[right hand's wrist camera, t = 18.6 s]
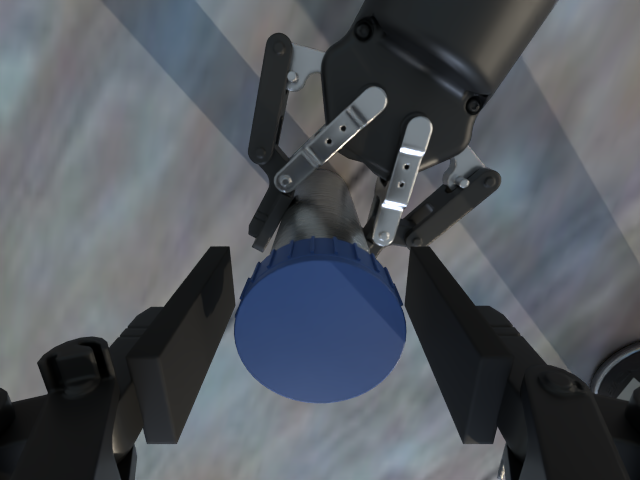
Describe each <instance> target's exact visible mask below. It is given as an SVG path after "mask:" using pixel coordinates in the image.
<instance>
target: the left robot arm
mask: <svg viewBox="0 0 640 480" xmlns="http://www.w3.org/2000/svg"><path fill="white" fill-rule="evenodd" d="M557 2H558V0H365V2H364V3H363V5H362V7H361V9H360V11H359V13H358V15H357V17H356V19H355V21H354V22H353V24H352V26H351V28H350V30H349V31H348V33H347V34H346V35H345V36H344V37H343V38H342V39H341V40H340V41H338V42H337V43H335V44H333V45H332V46H331V47H330V48H329V49H328V50H327V51H326V52H324V51H320V50H317V49H313V48H309V47H306V46H302V45H299V44H295V43H292V42H291V41H290V39H289V38H288V37H287V36H286V35H285V34H282V33H275V34H273V35H271V36H270V37H269V38H268V40H267V43H266V48H265V54H264V60H263V66H262V71H261V77H260V83H259V89H258V95H257V101H256V107H255V113H254V119H253V124H252V130H251V136H250V142H249V148H248V154H249V157H250V159H251V160H252V161H253V162H254V163H256V164H258V165H259V166H260V167H261V168H262V169H263V170H264V171H265V172H266V174H267V175H268V177H269V181H270V184H269V188H268V190H267V192H266V194H265V196H264V198H263V200H262V202H261V204H260V206H259V208H258V209H257V211H256V213H255V215H254V217H253V219H252V221H251V223H250V225H249V235H251V236H253V237H255V238H256V239H255V241H254V244H253V246H252V247H253V248H255V249H257V250H259V251H261V252H263V251H264V250H265V248H266V246H267V244H268V243H269V241H270V239H271V237H272V236H273V234H274V232H275V230H276V228H277V227H278V225H279V223H280V221H281V219H282V218H283V215H284V214H285V212H286V211H287V209H288V207H289V205H290V203H291V202H292V200H293V197H294V193H295V190H294V189H295V188H296V187H297V186H298V185H299V184H300V183H302V182H303V181H304V180H305V179H306V178H307V177H308V176H309V175H310V174H311V173H312V172H314V171H315V170H316V169H317V168H318V167H320V166H322V165H323V164H324V163H325V162H326V161H327V160H328V159H330V158H331V157H332V156H333V155H334V154H335V153H336V152H338V153H340V154H342V155H344V156H345V157H347V158H349V159H352V160H356V161H360V162H363V163H365V164H366V165H367V166H368V168H369V169H370V170H371V171H372V172H373V173H374V174H376V175H377V176H378V177H377V181H376V185H375V194H374V198H373V202H372V206H371V209H370V213H369V217H368V221H367V224H366V225H365V227H364V228H362V227H361V228H362V230H363V233H364V236H365V239H366V242H367V245H368V248H369V251H370V254H371V253H373V254H374V255H375V258H376V257H377V256H378V254H379V253H380V252H381V250H382V249H383V248H385V247H387V246H389V245H397V246H404V247H407V248H408V249H409V250H410V247H427V246H428V245H429V244H431V243H432V242H433V241H434V240H435V239H437V238H438V237H439V236H440V235H442V234H443V233H444V232H445V231H447V230H448V229H449V228H450V227H451V226H453V225H454V224H455V223H456V222H458V221H459V220H460V219H461V218H462V217H464V216H465V215H466V214H467V213H469V212H470V211H471V210H472V209H473V208H475V207H476V206H477V205H478V204H480V203H481V202H482V201H483V200H485V199H486V198H487V197H488V196H489V195H491V194H492V193H493V192H494V191H496V190H497V189H498V187H499V186H500V184H501V176H500V174H499V173H498V172H496V171H494V170H491V169H490V168H487V167H486V166H485V165H484V164H483V163H482V162H481V160H480V159H479V158H478V157H477V155H476V154H475V153H474V151H473V150H472V149H471V148H470V146H469V145H468V144H469V142H470V140H471V136H472V129H473V125H474V122H475V119H476V117H477V115H478V114H479V112H480V111H481V109H482V108H483V107H484V106H485V105H486V103H487V102H488V101H489V99H490V98H491V97H492V95H493V94H494V93H495V91H496V90H497V88H498V87H499V85H500V84H501V82H502V81H503V80H504V78H505V77H506V75H507V74H508V72H509V71H510V70H511V68H512V67H513V65H514V64H515V62H516V61H517V59H518V58H519V57H520V55H521V54H522V52H523V51H524V49H525V48H526V47H527V45H528V44H529V42H530V41H531V39H532V38H533V36H534V35H535V33H536V32H537V31H538V29H539V28H540V26H541V25H542V23H543V22H544V21H545V19H546V18H547V16H548V15H549V13H550V12H551V11H552V9H553V8H554V6H555V5H556V3H557ZM316 73H318V74H321V81H322V91H323V102H324V112H325V124H324V125H323V126H322V127H321V128H320V129H319V130H318V131H317V132H316V133H315V134H314V135H313V136H312V137H311V138H310V139H309V140H308V141H307V142H306V143H305V144H304V145H303V146H302V147H301V148H300V149H299V150H298V151H296V152H295V153H294V154H293V155H292V156H291V157H290V158H288V157H287V156H286V155H285V153H284V152H283V151H282V150H281V149H280V148H279V146H278V144H279V139H280V134H281V129H282V124H283V119H284V114H285V109H286V104H287V99H288V94H289V91H292V92H297V91H299V90H301V89H302V88H303V87H304V85H305V83H306V80H307V79H308V77H309V76H311V75H312V74H316ZM448 159H450V166H449V168H448V169H447V170H446V172H445V173H444V175H443V183H444V184H443V185H442V186H441V187H439V188H438V189H437V190H436V191H435V192H434V193H432V194H431V195H430V196H429V197H428V198H427V199H426V200H424V201H423V202H422V203H421V204H420V205H419V206H417V207H416V208H415V209H414V210H413V211H412V212H410V213H409V214H408V215H407V216H406V217H405V218H403V219H400V218H401V215H402V212H403V210H404V209H405V208H406V206H407V204H408V202H409V199H410V195H411V192H412V189H413V186H414V183H415V179H416V176H417V173H418V172H420V171H423V170H425V169H427V168H430V167H432V166H434V165H437V164H439V163H441V162H444V161H446V160H448ZM401 182H402V184H401V185H400V183H401ZM638 387H640V342H637V343H634V344H632V345H629V346H627V347H625V348H623V349H621V350H619V351H618V352H616V353H615V354H613V355H612V356H611V357H609V358H608V359H607V360H606V361H605V362H604V363H603V364H602V365H601V366H600V367H599V369H598V370H597V372H596V373H595V375H594V377H593V379H592V382H591V386H590V390H591V392H592V393H595V394H600V395H604V396H609V397H613V398H618V399H622V400H627V401H629V400H630V398H631V395H632V393H633V391H634V390H635V389H636V388H638Z"/></svg>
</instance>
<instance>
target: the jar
mask: <svg viewBox="0 0 640 480" xmlns="http://www.w3.org/2000/svg"><path fill="white" fill-rule="evenodd" d="M294 190H295V193H294V197H293V200H292V202H291V203H290V205H289V207H288V209H287V211H286V212H285V214H284V215H283V218H282V220H281V223H280V226H279V229H278V232H277V235H276V238H275V241H274V244H273V247H272V249H271V251H272V250H273V249H275V250H277V249H279V248H281V247H283V246H285V245H287V244H289V243H290V241H291V240H294V242H295V241H299V240H303V239H309V238H311V236H315V238H331V239H333V237H336V238H337V240H342V241H346V242H348V243H351V244H353V243H354V242H355V243H357V246H358V247H360V248H362V249H363V250H365V251H366V252H368V253H369V254H370V251H369V248H368V245H367V242H366V239H365V236H364V233H363V230H362V228H361V225H360V222H359V219H358V216H357V213H356V210H355V207H354V204H353V201H352V198H351V195H350V192H349V189H348V186H347V185H346V183H345V181H344V180H343V179H342V178H341V177H340V176H339V175H337V174H336V173H334V172H332V171H329V170H324V169H316V170H315V171H314V172H312V173H311V174H310V175H309V176H308V177H307V178H306V179H305V180H304V181H303V182H302V183H300V184H299V185H298V186H297V187H296V188H295V189H294ZM270 254H271V252H270Z"/></svg>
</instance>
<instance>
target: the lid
mask: <svg viewBox="0 0 640 480" xmlns="http://www.w3.org/2000/svg"><path fill="white" fill-rule="evenodd" d="M240 299H241V302H240V304H239V307H238V309H237V312H236V314H235V318H236V319H235V324H234V337H235V344H236V347H237V351H238V354H239V356H240V358H241V360H242V362H243V364H244V365H245V367H246V368H247V370H248V371H249V372H250V373H251V374H252V376H253V377H254V378H255V379H256V380H258V381H259V382H260V383H261V384H262V385H264V386H265V387H267V388H268V389H270V390H271V391H273V392H275V393H277V394H279V395H282V396H284V397H286V398H290V399H293V400H296V401H302V402H308V403H332V402H339V401H344V400H348V399H351V398H354V397H357V396H359V395H361V394H363V393H366V392H367V391H369V390H371V389H372V388H374V387H375V386H377V385H378V384H379V383H381V382H382V381H383V380H384V379H385V378H386V377H387V376H388V375H389V374H390V373H391V371H392V370H393V369H394V368H395V366H396V364H397V363H398V361H399V359H400V357H401V355H402V352H403V349H404V345H405V341H406V321H405V317H404V313H403V310H402V308H401V306H403V303H402V300H401V298H400V296H399V293H398V291H397V288H396V286H395V284H393V282H392V279H391V277H390V274H389V272H388V270H387V268H386V267H385V268H383V267H382V265H381V264H380V263H379V262H378V261H377V260H376V258H375V255H374V254H373V253H371V254H369V253H368V252H366V251H365V250H363V249H362V248H360V247H358V246H357V243H355V242H354V243H353V244H351V243H348V242H346V241H342V240H337V238H336V237H333V239H331V238H315V236H311V238H309V239H303V240H299V241H295V242H294V240H291V241H290V243H289V244H287V245H285V246H283V247H281V248H279V249H277V250H275V249H273V250H272V251H271V254H270V255H269V256H267V257H266V258H265V259H264V260H263V261H262V262H261V263H260V262H258V263H257V265H256V268H255V270H254V273H253V275H252V277H251V278H248V279H247V282H246V284H245V287H244V289H243V291H242V294H241V296H240Z"/></svg>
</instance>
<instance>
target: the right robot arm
mask: <svg viewBox="0 0 640 480" xmlns="http://www.w3.org/2000/svg"><path fill="white" fill-rule="evenodd" d="M234 308H235V296H234V286H233V276H232V266H231V257H230V247H210V248H209V249H208V251H207V252H206V253H205V254H204V256H203V257H202V258H201V260H200V261H199V262H198V263H197V265H196V266H195V267H194V269H193V270H192V271H191V272H190V274H189V275H188V276H187V278H186V279H185V280H184V281H183V283H182V284H181V285H180V287H179V288H178V289H177V291H176V292H175V293H174V294H173V296H172V297H171V298H170V300H169V301H168V302H167V303H166V305H165V306H164V307H150V308H149V309H147V310H145V311H144V312H142V313H141V314H139V315H138V316H136V317H135V319H134V320H133V321H132V322H131V323H130V324H129V326H128V328H126V329H125V330H124V331H123V332H122V334H121V335H120V337H118V338H117V339H116V340H115V342H114V343H113V344H112V345H111V346H110V347H108V343H107V341H105V340H104V339H102V338H99V337H83V338H78V339H74V340H71V341H67V342H65V343H63V344H61V345H59V346H56V347H54V348H53V349H51V350H50V351H49V352H47V353H46V354H44V355H43V356H42V358H41V359H40V360H39V361H38V362H37V364H38V367H39V369H40V372H41V375H42V378H43V380H44V383H45V386H46V389H47V391H48V394H47V395H43V396H38V397H34V398H29V399H25V400H20V401H16V402H11V400H10V398H9V395H8V393H7V391H5V390H3V389H2V388H0V480H135V471H136V462H137V454H136V448H135V444H134V443H135V441H136V439H137V437H138V435H139V434H140V432H141V430H142V428H143V430H144V434H145V438H146V442H147V444H177V442H178V440H179V437H180V435H181V433H182V430H183V428H184V426H185V423H186V421H187V419H188V416H189V414H190V411H191V409H192V407H193V404H194V402H195V400H196V397H197V395H198V393H199V390H200V388H201V385H202V383H203V381H204V378H205V376H206V374H207V371H208V369H209V367H210V364H211V362H212V360H213V357H214V355H215V352H216V350H217V348H218V345H219V343H220V341H221V338H222V336H223V334H224V331H225V329H226V326H227V324H228V322H229V319H230V317H231V315H232V312H233V310H234ZM405 308H406V310H407V312H408V315H409V317H410V319H411V322H412V324H413V326H414V329H415V331H416V334H417V336H418V338H419V341H420V343H421V345H422V348H423V350H424V352H425V355H426V357H427V360H428V362H429V364H430V367H431V369H432V371H433V374H434V376H435V378H436V381H437V383H438V386H439V388H440V390H441V393H442V395H443V397H444V400H445V402H446V404H447V407H448V409H449V411H450V414H451V416H452V419H453V421H454V423H455V426H456V428H457V430H458V433H459V435H460V437H461V440H462V442H463V444H493V442H494V438H495V434H496V430H497V426H498V428H499V430H500V432H501V434H502V435H503V437H504V439H505V441H506V444H505V448H504V452H503V456H502V459H501V463H500V467H499V471H498V477H497V478H498V479H501V480H502V479H503V475H504V472H505V479H506V480H640V387H638V388H636V389H635V390H634V391H633V393H632V395H631V398H630V400H629V401H627V400H622V399H618V398H613V397H609V396H604V395H600V394H595V393H592V392H591V390H590V389H589V387H588V386H587V385H586V384H585V383H584V382H583V381H582V380H580V379H579V378H578V377H577V376H575V375H573V374H571V373H569V372H568V371H566V370H564V369H561V368H557V367H554V366H551V365H547V364H546V363H545V362H544V361H543V359H542V358H541V357H540V356H539V355H538V354H537V353H536V351H535V350H534V349H533V348H532V347H531V346H530V345H529V343H528V342H527V341H526V340H525V339H524V338H523V337H522V336H520V333H519V332H518V331H517V330H516V329H515V327H513V325H512V324H511V323H510V322H509V321H508V319H507V318H506V317H505V316H504V315H503V314H501V313H500V312H498V311H497V310H495V309H493V308H492V307H490V306H475V305H474V303H473V302H472V301H471V300H470V298H469V297H468V296H467V294H466V293H465V292H464V291H463V289H462V288H461V287H460V285H459V284H458V283H457V281H456V280H455V279H454V278H453V276H452V275H451V274H450V272H449V271H448V270H447V269H446V267H445V266H444V265H443V263H442V262H441V261H440V260H439V258H438V257H437V256H436V254H435V253H434V252H433V251H432V249H431V248H430V247H410V257H409V266H408V276H407V286H406V296H405Z"/></svg>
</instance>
